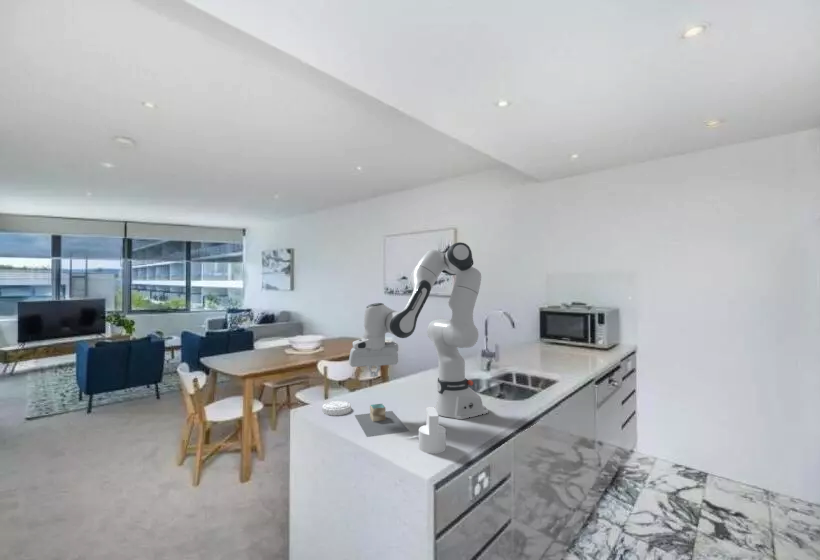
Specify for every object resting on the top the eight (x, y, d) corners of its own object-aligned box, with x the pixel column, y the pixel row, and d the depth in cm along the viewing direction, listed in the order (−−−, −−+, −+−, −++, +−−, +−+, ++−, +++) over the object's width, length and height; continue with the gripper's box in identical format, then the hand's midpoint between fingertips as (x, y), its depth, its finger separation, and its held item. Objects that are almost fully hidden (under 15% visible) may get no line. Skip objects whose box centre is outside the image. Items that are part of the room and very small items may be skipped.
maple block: (382, 415, 156) (382, 403, 156) (385, 420, 151) (385, 407, 151) (370, 417, 154) (370, 404, 154) (373, 421, 149) (373, 408, 149)
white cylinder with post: (417, 442, 132) (417, 407, 132) (443, 441, 132) (443, 406, 132) (420, 453, 123) (420, 416, 123) (447, 453, 123) (447, 415, 123)
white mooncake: (356, 411, 164) (356, 402, 164) (337, 419, 154) (337, 410, 154) (336, 406, 170) (336, 398, 170) (316, 414, 160) (316, 405, 160)
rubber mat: (391, 412, 162) (391, 410, 162) (409, 432, 140) (409, 431, 140) (354, 416, 156) (354, 415, 156) (366, 438, 135) (366, 436, 135)
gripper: (396, 340, 164) (395, 373, 164) (348, 342, 157) (347, 375, 157) (400, 342, 158) (400, 376, 158) (351, 344, 151) (350, 379, 151)
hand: (373, 376), depth 157 cm, fingers closed
